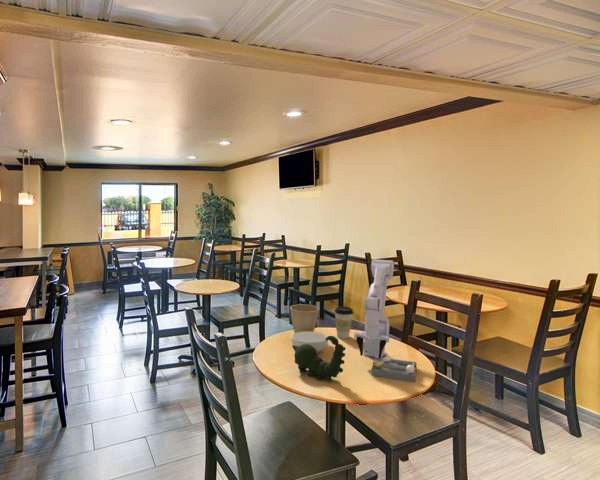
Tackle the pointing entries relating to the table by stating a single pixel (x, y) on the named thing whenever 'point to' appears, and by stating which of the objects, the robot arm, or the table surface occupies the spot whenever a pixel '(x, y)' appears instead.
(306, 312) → the plant pot
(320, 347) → the cereal bowl
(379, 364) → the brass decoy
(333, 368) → the toy figurine
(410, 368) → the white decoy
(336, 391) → the table surface
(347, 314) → the coffee cup
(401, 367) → the grey divided tray
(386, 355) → the steel ball
